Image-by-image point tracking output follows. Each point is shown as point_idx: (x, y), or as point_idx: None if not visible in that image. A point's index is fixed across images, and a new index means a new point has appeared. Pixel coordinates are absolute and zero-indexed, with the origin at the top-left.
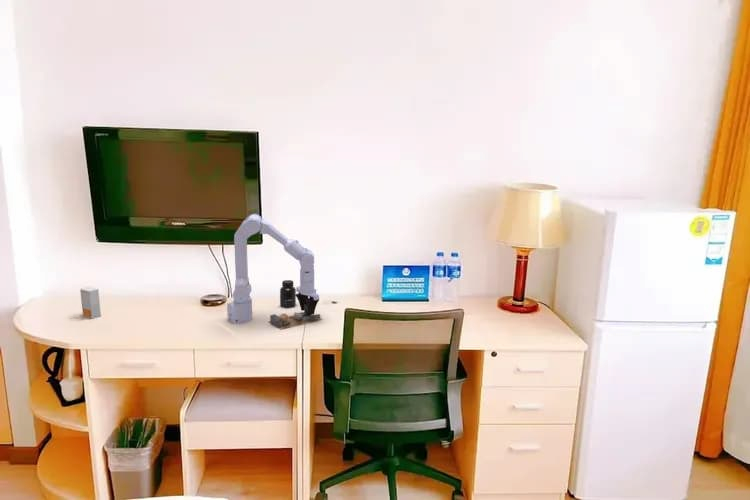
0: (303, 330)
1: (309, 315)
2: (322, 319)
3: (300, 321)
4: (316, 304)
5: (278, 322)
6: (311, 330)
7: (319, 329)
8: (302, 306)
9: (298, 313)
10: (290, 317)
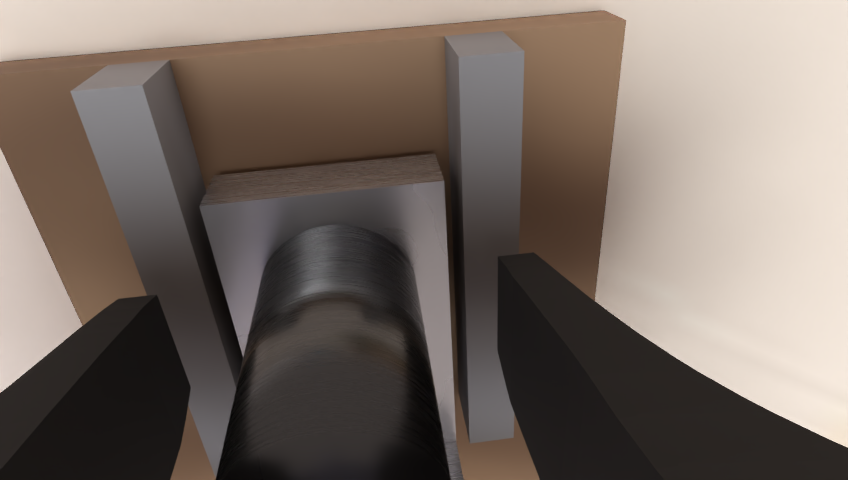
0: None
1: (434, 289)
2: (616, 33)
3: None
4: (758, 416)
5: None
6: (756, 335)
7: (822, 233)
8: (149, 464)
9: (210, 414)
10: (196, 459)
